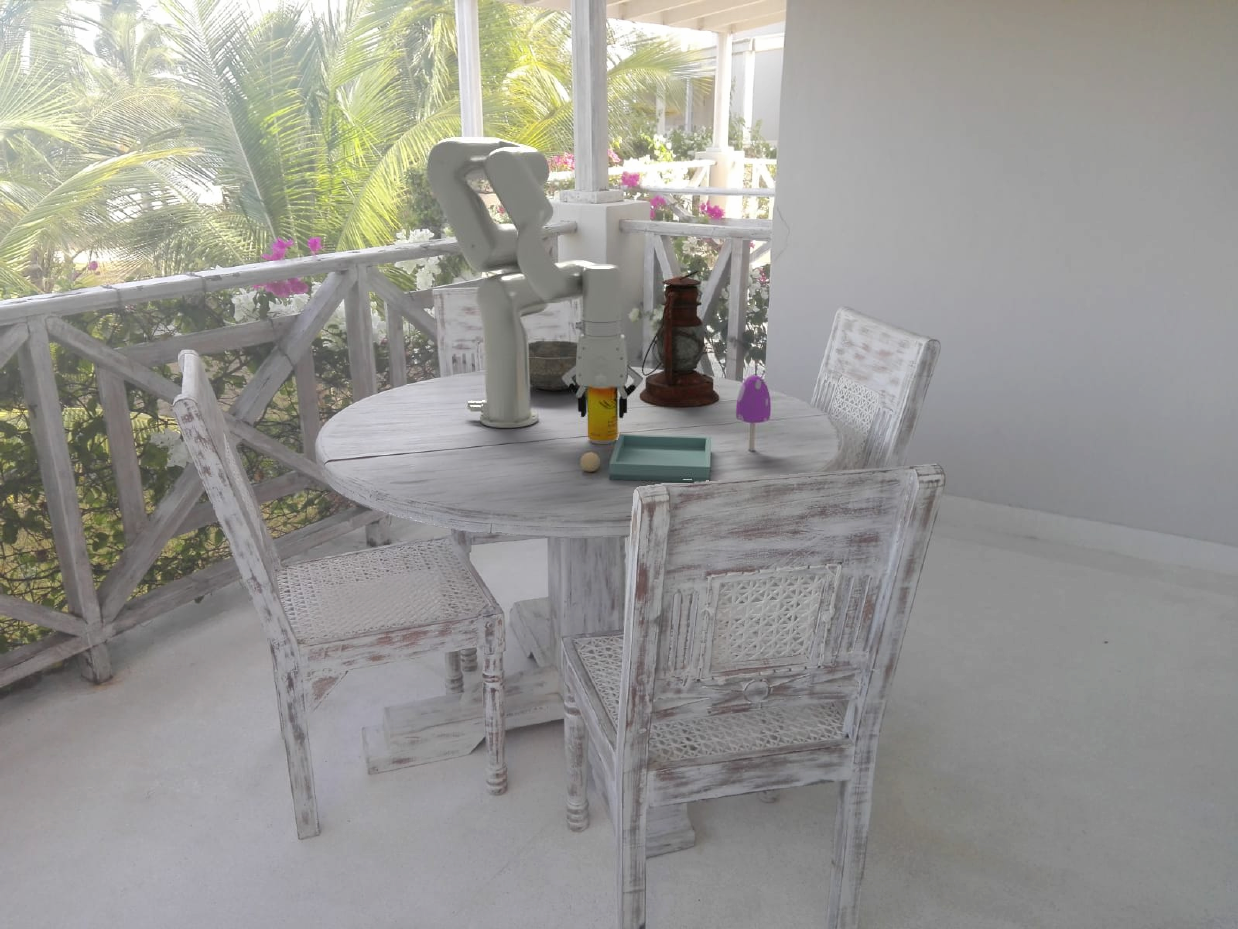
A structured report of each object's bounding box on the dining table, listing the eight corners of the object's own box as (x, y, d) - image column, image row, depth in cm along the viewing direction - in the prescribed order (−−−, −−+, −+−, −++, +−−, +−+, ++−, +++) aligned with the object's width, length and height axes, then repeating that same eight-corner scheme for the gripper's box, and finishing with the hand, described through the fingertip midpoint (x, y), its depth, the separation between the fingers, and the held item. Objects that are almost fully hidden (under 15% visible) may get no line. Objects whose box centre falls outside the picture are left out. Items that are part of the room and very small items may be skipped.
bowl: (594, 399, 222) (594, 358, 219) (507, 399, 223) (505, 357, 219) (597, 378, 242) (597, 340, 239) (517, 378, 242) (516, 339, 239)
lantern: (657, 384, 236) (659, 262, 227) (729, 392, 229) (734, 267, 219) (626, 402, 220) (626, 272, 210) (703, 411, 213) (707, 277, 203)
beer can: (614, 445, 189) (614, 372, 184) (584, 443, 190) (583, 371, 185) (620, 436, 194) (620, 365, 189) (591, 435, 195) (590, 364, 191)
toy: (760, 457, 182) (763, 381, 177) (728, 451, 185) (731, 377, 180) (773, 448, 187) (777, 374, 182) (743, 442, 191) (746, 370, 186)
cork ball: (579, 474, 173) (579, 455, 171) (582, 467, 176) (581, 449, 175) (598, 474, 172) (598, 456, 171) (601, 468, 176) (601, 449, 174)
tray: (609, 479, 170) (609, 463, 169) (619, 448, 187) (619, 434, 186) (709, 482, 168) (709, 466, 167) (710, 451, 185) (711, 436, 184)
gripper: (555, 331, 182) (557, 419, 188) (644, 333, 180) (644, 422, 186) (561, 324, 189) (563, 409, 195) (647, 325, 187) (646, 412, 193)
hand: (602, 415), depth 190 cm, fingers open, 7 cm apart
